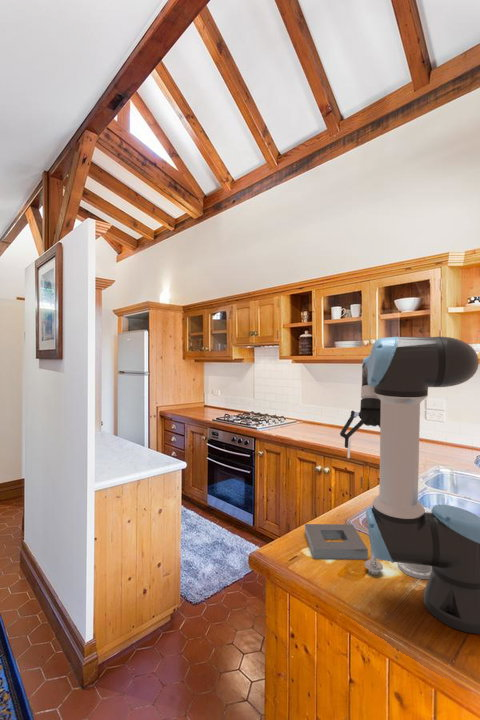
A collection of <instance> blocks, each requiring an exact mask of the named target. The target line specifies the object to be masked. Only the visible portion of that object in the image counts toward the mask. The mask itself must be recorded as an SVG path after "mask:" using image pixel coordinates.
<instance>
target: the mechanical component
mask: <svg viewBox="0 0 480 720" xmlns="http://www.w3.org/2000/svg"><path fill="white" fill-rule="evenodd" d="M397 567H398V569H399V570H400V571H401V572H402V573H404V574H406V575H407V576H410V577H412V578H415V579H420V580H428V579H429V577H430V574H431V572H432V566H426V565H416V564H407V563H398V562H397Z"/></svg>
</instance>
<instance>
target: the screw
mask: <svg viewBox="0 0 480 720" xmlns="http://www.w3.org/2000/svg"><path fill="white" fill-rule="evenodd" d="M369 556H370V558H369V559H366V561H365V562H364V567H365V568H366V569H367V570H368V573H370V574H371V575H374V576H378V575H379V572H381V571H382V570H383V569H384V566H383V563H382V562H380V561H378V559H377V558H376V557H375V556H374V555H373V552H372V549H371V544H370V555H369Z"/></svg>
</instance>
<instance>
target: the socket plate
mask: <svg viewBox="0 0 480 720" xmlns="http://www.w3.org/2000/svg"><path fill="white" fill-rule="evenodd" d="M304 535H305V538H306V540H307V544H308V546H309V550H310V552H311V555H312V558H313V559H314V560H369V556H368V555H369V550H368V547H367V546H366V543H365V542H364V541H363V539H362V538H361V536H360V534H359V533H358V531H357V530H356V528H355V526H354V525H353V524H352V523H349V524H348V523H346V524H342V523H339V524H338V523H337V524H335V523H333V524H332V523H330V524H328V523H320V524H319V523H306V524H304ZM325 540H343V541H325Z"/></svg>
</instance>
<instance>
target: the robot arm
mask: <svg viewBox="0 0 480 720" xmlns="http://www.w3.org/2000/svg"><path fill="white" fill-rule="evenodd" d="M479 361H480V360H479V356H478V354H477V352H476V350H475V349H474V348H473V347H472V346H471V345H470V344H469V343H467V342H466V341H463V340H460V339H459V338H458V339H457V338H454V337H450V336H391V337H381V338H378V339H376V340H375V341H374V342H373V344H372V347H371V350H370V353H369V355H368V356H366V357H364V358H363V360H362V366H361V370H362V371H361V389H360V390H361V391H360V398H361V399H360V405H359V406H360V409H359V410H360V411H359V412H357V411H354V410H350V411H351V412H350V416H349V418H348V419H347V421H346V423H345V424H344V426H343V427H342V429H341V431H340V432H339V435H340V437H342V438H344V448H345V449H347V459H350V458H351V442H352V439H351V438H350V437H352V436H353V435H354V434H355V433H356V432H357V431H358V429H360V428H361V427H362V426H363V425H365V426H367V427H369V426H370V427H377V426H378V428H379V429H380V431H379V433H380V435H379V437H380V439H379V490H378V492H379V493H378V495H377V496H375V497H374V498H373V500H372V507H367V508H365V516H366V526H367V530H368V531H367V532H368V539H369V543H370V544H371V545H370V546H371V547H370V548H371V549H372V552H373V555H374V556H375V557H376V558H377V560H379V561H385V562H390V563H392V564H395V563H397V564H398V563H407V564H416V565H426V566H432V572H431V574H430V577H429V579H427V581H426V585H425V587H424V590H423V604H424V607H425V608H426V610H427V611H428V612H429V613H430V614H431V615H432V616H433V617H434V618H435V619H437V621H440V622H441V623H443V624H445V625H447V626H448V627H450V628H452V629H455V630H458V631H460V632H465V633H467V634H468V633H469V634H476V635H480V516H479V515H477V514H475V513H473V512H471V511H469V510H467V509H465V508H461V507H458V506H453V505H448V504H435V505H433V506H432V509H430V510H431V512H426V511H425V509H426V508H425V507H424V506H423V504H422V503H421V502H420V501H419V469H420V467H419V465H420V464H419V462H420V427H421V425H420V424H421V423H420V419H421V418H420V417H421V416H420V415H421V404H422V403H421V402H423V401H424V400H425V399H427V397H428V395H429V394H428V393H429V388H448V387H454V386H459V385H461V384H463V383H464V384H465V383H466V382H467V381H469V380H471V379H472V378H473V377H474V376H475V374H476V373H477V370H478V369H479ZM357 417H359V418H360V420H359V421H358V423H356V424H355V426H353V427H352V428H351V429H350V430H349V431H348V429H349V428H350V426H351V424H352V423H353V421H354V419H355V418H356V419H357ZM347 431H348V432H347ZM346 432H347V433H346ZM371 549H370V550H371Z"/></svg>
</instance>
